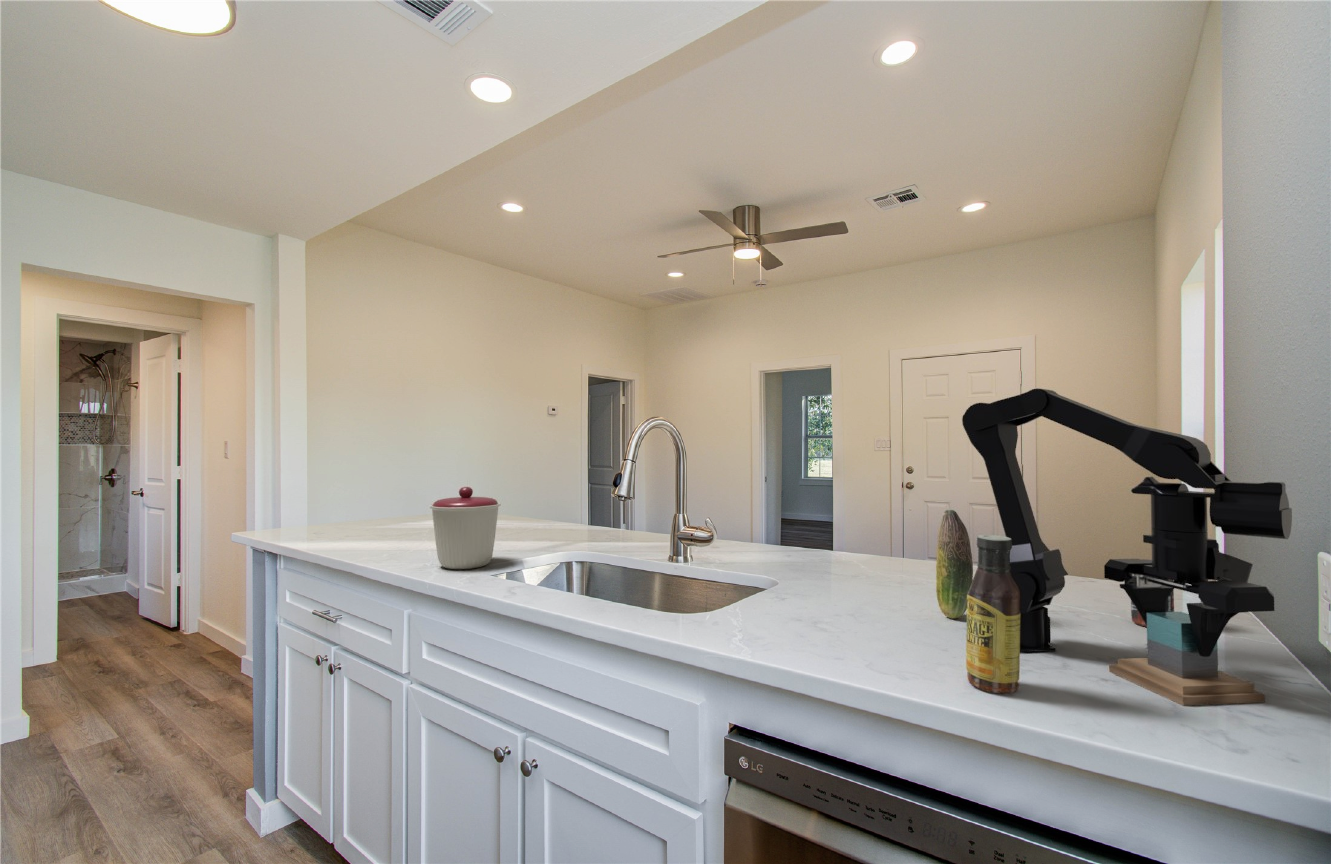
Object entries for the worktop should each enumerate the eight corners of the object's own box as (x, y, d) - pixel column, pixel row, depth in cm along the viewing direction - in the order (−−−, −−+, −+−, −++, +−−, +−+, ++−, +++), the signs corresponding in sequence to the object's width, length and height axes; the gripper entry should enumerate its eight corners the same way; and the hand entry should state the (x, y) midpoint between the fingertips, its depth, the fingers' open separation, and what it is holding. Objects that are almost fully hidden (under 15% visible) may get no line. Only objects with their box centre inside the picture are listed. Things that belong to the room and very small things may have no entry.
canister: (450, 576, 147) (450, 490, 147) (416, 566, 159) (417, 487, 160) (513, 565, 160) (514, 486, 161) (478, 557, 172) (479, 483, 173)
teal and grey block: (1218, 677, 77) (1216, 622, 77) (1182, 678, 77) (1181, 623, 77) (1181, 663, 82) (1180, 611, 82) (1147, 664, 82) (1146, 612, 82)
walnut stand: (1183, 705, 73) (1183, 688, 73) (1109, 671, 84) (1108, 657, 84) (1265, 701, 74) (1264, 685, 74) (1181, 668, 85) (1180, 654, 85)
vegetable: (932, 611, 115) (931, 507, 115) (967, 613, 113) (966, 507, 114) (940, 620, 109) (938, 510, 109) (977, 622, 107) (976, 511, 108)
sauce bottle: (956, 678, 82) (954, 532, 82) (1000, 676, 83) (997, 532, 83) (986, 698, 75) (983, 540, 76) (1033, 696, 76) (1030, 539, 76)
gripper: (1315, 540, 71) (1318, 672, 71) (1169, 520, 90) (1171, 625, 89) (1229, 541, 70) (1232, 675, 70) (1100, 521, 89) (1102, 627, 88)
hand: (1181, 647), depth 79 cm, fingers open, 6 cm apart
